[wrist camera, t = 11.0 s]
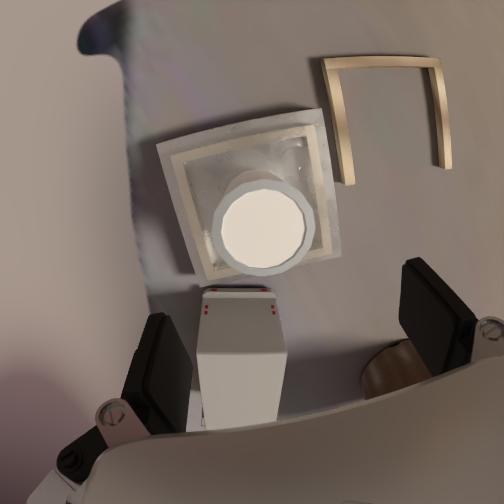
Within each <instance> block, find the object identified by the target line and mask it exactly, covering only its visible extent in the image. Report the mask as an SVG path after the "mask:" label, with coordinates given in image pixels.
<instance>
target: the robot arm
mask: <svg viewBox="0 0 504 504" xmlns="http://www.w3.org/2000/svg"><path fill="white" fill-rule="evenodd" d="M399 322H400V325H401V326H402V328H403V330H404V331H405V333H406V334H407V336H408V338H409V339H410V341H411V342H412V344H413V346H414V347H415V349H416V351H417V352H418V354H419V356H420V357H421V359H422V361H423V362H424V364H425V366H426V367H427V369H428V371H429V373H430V374H431V376H432V378H430V379H428V380H425V381H422V382H419V383H417V384H414V385H411V386H409V387H406V388H403V389H400V390H397V391H394V392H391V393H388V394H385V395H382V396H378V397H375V398H372V399H368V400H365V401H362V402H358V403H355V404H351V405H347V406H343V407H340V408H336V409H332V410H328V411H323V412H319V413H315V414H310V415H305V416H301V417H296V418H291V419H285V420H280V421H274V422H268V423H262V424H256V425H249V426H242V427H234V428H225V429H216V430H206V431H196V432H186V424H187V415H188V405H189V396H190V387H191V379H192V371H193V367H192V362H191V360H190V358H189V356H188V354H187V352H186V350H185V348H184V346H183V344H182V341H181V339H180V337H179V335H178V333H177V331H176V329H175V326H174V324H173V322H172V320H171V318H170V316H169V315H165V314H164V313H163V312H162V313H156V314H150V315H149V316H148V319H147V322H146V325H145V328H144V331H143V334H142V337H141V340H140V343H139V346H138V349H137V350H136V351H135V353H134V356H133V359H132V362H131V365H130V368H129V371H128V375H127V378H126V381H125V384H124V388H123V391H122V394H121V398H114V399H110V400H108V401H106V402H105V403H103V404H102V405H101V406H100V407H99V409H98V410H97V412H96V414H95V422H96V426H95V427H93V428H92V429H90V430H89V431H88V432H86V433H85V434H84V435H82V436H81V437H79V438H78V439H76V440H75V441H74V442H72V443H71V444H69V445H68V446H66V447H65V448H64V449H63V450H62V451H61V452H60V453H59V455H58V458H57V468H58V469H57V470H56V471H54V470H52V471H51V472H50V473H49V474H48V475H47V476H46V478H45V479H44V480H43V481H42V482H41V484H40V485H39V486H38V487H37V488H36V489H35V491H34V492H33V493H32V494H31V496H30V497H29V499H28V500H27V504H504V321H503V320H501V319H499V318H496V317H490V316H488V317H484V318H482V319H480V320H478V319H477V318H476V317H475V314H474V313H473V312H472V311H471V310H470V309H469V308H468V307H467V305H466V304H465V303H464V302H463V301H462V300H461V299H460V298H459V297H458V296H457V294H456V293H455V292H454V291H453V290H452V289H451V288H450V287H449V286H448V285H447V284H446V283H445V282H444V281H443V280H442V279H441V278H440V277H439V276H438V275H437V273H436V272H435V271H434V270H433V269H432V268H431V267H430V266H429V265H428V264H427V263H426V262H425V261H424V260H423V259H422V258H420V257H417V258H413V259H409V260H407V261H406V263H405V264H404V265H403V266H402V279H401V294H400V306H399Z"/></svg>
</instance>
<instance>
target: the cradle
mask: <svg viewBox="0 0 504 504" xmlns="http://www.w3.org/2000/svg"><path fill="white" fill-rule="evenodd" d="M320 62H321V67H322V71H323V76H324V81H325V86H326V90H327V96H328V101H329V106H330V111H331V117H332V123H333V129H334V135H335V141H336V147H337V154H338V161H339V168H340V175H341V183H342V184H344V185H345V186H347V185H352V184H355V177H354V168H353V160H352V153H351V146H350V139H349V132H348V126H347V120H346V114H345V108H344V102H343V97H342V92H341V86H340V82H339V77H338V72H337V69H349V68H370V67H418V68H428V71H429V76H430V82H431V88H432V95H433V102H434V110H435V119H436V128H437V140H438V155H439V167H440V168H443V169H452V157H451V139H450V127H449V116H448V107H447V99H446V92H445V86H444V79H443V73H442V68H441V63H440V59H438V58H425V57H404V56H361V57H340V58H326V59H322V60H320Z"/></svg>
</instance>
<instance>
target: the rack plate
mask: <svg viewBox="0 0 504 504" xmlns="http://www.w3.org/2000/svg"><path fill="white" fill-rule="evenodd" d="M156 147H157V150H158V154H159V157H160V161H161V165H162V168H163V172H164V175H165V179H166V182H167V186H168V189H169V192H170V196H171V199H172V202H173V206H174V209H175V212H176V215H177V219H178V222H179V225H180V228H181V231H182V235H183V238H184V241H185V244H186V247H187V250H188V253H189V256H190V259H191V262H192V265H193V268H194V271H195V274H196V277H197V280H198V283H199V286H200V287H204V286H209V285H214V284H219V283H223V282H228V281H233V280H238V279H242V278H247V277H252V276H255V275H247V274H244V273H242V272H240V271H238V270H236V269H234V268H233V267H231V266H229V265H228V264H227V263H226V262H225V260H224V259H223V258H222V257H221V256H220V255H219V253H218V252H217V251H216V247H215V244H214V241H213V237H212V234H211V231H212V224H213V217H214V212H215V210H216V208H217V206H218V204H219V202H220V200H221V198H222V196H223V194H224V192H225V190H226V189H227V187H228V185H229V184H230V182H231V181H232V179H234V178H235V177H236V176H238V175H239V174H241V173H242V172H245V171H249V170H253V169H259V170H265V171H270V172H271V173H273V174H274V175H276V176H277V177H279V178H281V179H282V180H284V181H285V182H286V183H288V184H289V185H291V186H292V187H294V188H295V189H297V190H298V191H299V192H301V193H302V194H303V196H304V197H305V199H306V200H307V202H308V203H309V205H310V206H311V208H312V209H313V214H314V220H315V227H316V230H315V233H314V237H313V241H312V245H311V247H310V249H309V250H308V251H307V253H306V254H305V255H304V257H303V258H302V259H301V261H300V262H299V263H297V264H296V265H294V266H293V267H297V266H302V265H306V264H311V263H315V262H320V261H324V260H328V259H333V258H337V257H341V256H342V255H341V243H340V233H339V223H338V214H337V205H336V197H335V189H334V181H333V174H332V167H331V160H330V154H329V147H328V141H327V135H326V129H325V124H324V118H323V113H322V108H314V109H307V110H300V111H294V112H288V113H282V114H276V115H271V116H265V117H260V118H255V119H250V120H245V121H241V122H236V123H232V124H227V125H223V126H219V127H215V128H210V129H207V130H203V131H199V132H195V133H191V134H187V135H184V136H180V137H177V138H173V139H170V140H166V141H163V142H161V143H158V144H156ZM293 267H291V268H293Z"/></svg>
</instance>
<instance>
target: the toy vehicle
mask: <svg viewBox="0 0 504 504" xmlns="http://www.w3.org/2000/svg"><path fill="white" fill-rule="evenodd" d="M196 357H197V366H198V374H199V383H200V391H201V399H202V418H204V420H205V427H206V430H216V429H225V428H234V427H242V426H249V425H256V424H262V423H268V422H274V421H276V418H277V413H278V407H279V402H280V396H281V390H282V384H283V378H284V372H285V366H286V360H287V348H286V344H285V339H284V335H283V330H282V325H281V321H280V316H279V312H278V307H277V303H276V292H275V291H274V290H272V289H271V288H207V289H206V290H204V291H203V300H202V308H201V316H200V324H199V332H198V340H197V349H196ZM277 421H278V420H277ZM201 426H202V421H201Z"/></svg>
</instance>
